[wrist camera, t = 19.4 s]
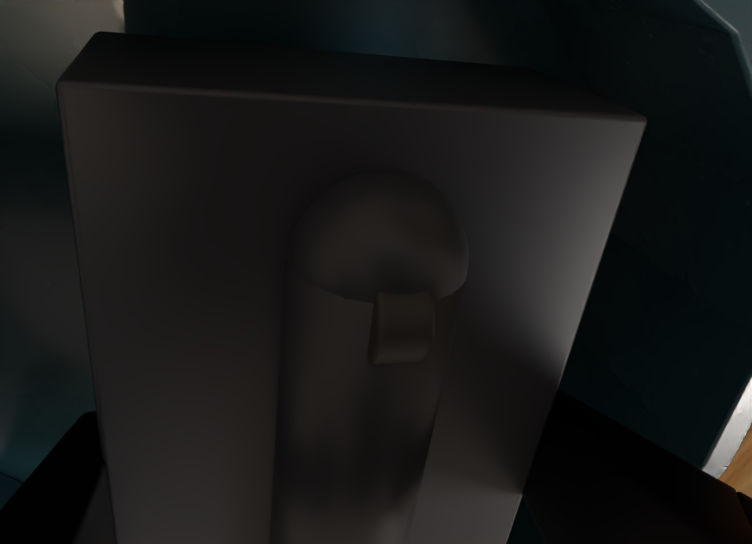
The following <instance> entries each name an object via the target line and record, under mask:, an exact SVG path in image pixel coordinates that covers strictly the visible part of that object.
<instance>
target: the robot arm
mask: <svg viewBox="0 0 752 544" xmlns="http://www.w3.org/2000/svg"><path fill="white" fill-rule="evenodd" d="M522 494H523V496H524V499H525V501H526V504H527V506H528V509H529V511H530V513H531V515H532V517H533V519H534V521H535V524H536V526H537V528H538V530H539V532H540V534H541V536H542V538H543V540H544V542H545V544H752V498H750V497H748V496H747V495H745V494H743V493H742V492H736V491H735V489H734V488H732V487H731V486H729V485H727V484H725V483H724V482H722V481H720V480H718V479H717V478H715V477H713V476H711V475H710V474H708V473H706V472H704V471H703V470H701V469H699V468H697V467H696V466H694V465H692V464H690V463H689V462H687V461H685V460H683V459H681V458H680V457H678V456H676V455H674V454H673V453H671V452H669V451H667V450H666V449H664V448H662V447H660V446H659V445H657V444H655V443H653V442H652V441H650V440H648V439H646V438H645V437H643V436H641V435H639V434H637V433H636V432H634V431H632V430H630V429H629V428H627V427H625V426H623V425H622V424H620V423H618V422H616V421H615V420H613V419H611V418H609V417H608V416H606V415H604V414H602V413H601V412H599V411H597V410H595V409H593V408H592V407H590V406H588V405H586V404H585V403H583V402H581V401H579V400H578V399H576V398H574V397H572V396H571V395H569V394H567V393H565V392H564V391H562V390H560V389H558V390H557V393H556V396H555V399H554V402H553V405H552V408H551V411H550V413H549V414H548V417H547V420H546V423H545V426H544V429H543V432H542V435H541V438H540V441H539V444H538V447H537V450H536V453H535V456H534V459H533V462H532V465H531V468H530V471H529V474H528V477H527V480H526V483H525V486H524V489H523V492H522ZM0 544H116V538H115V529H114V521H113V513H112V505H111V497H110V489H109V481H108V472H107V465H106V462H105V461H104V460H103V458H102V454H101V446H100V438H99V430H98V422H97V414H96V411H91V412H86V413H84V414H82V415H81V416H80V417H79V418H78V420H77V421H76V422H75V423H74V424H73V425H72V427H71V428H70V429H69V430H68V431H67V432H66V434H65V435H64V436H63V437H62V438H61V439H60V441H59V442H58V443H57V444H56V445H55V446H54V448H53V449H52V450H51V451H50V452H49V453H48V455H47V456H46V457H45V458H44V459H43V461H42V462H41V463H40V464H39V465H38V466H37V468H36V469H35V470H34V471H33V472H32V473H31V475H30V476H29V477H28V478H27V479H26V480H25V482H24V483H23V484H22V485H21V486H20V487H19V489H18V490H17V491H16V492H15V493H14V494H13V496H12V497H11V498H10V499H9V500H8V501H7V503H6V504H5V505H4V506H3V507H2V509H1V510H0Z"/></svg>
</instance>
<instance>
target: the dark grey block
mask: <svg viewBox="0 0 752 544" xmlns="http://www.w3.org/2000/svg"><path fill="white" fill-rule="evenodd" d="M55 88H56V96H57V104H58V112H59V120H60V128H61V136H62V144H63V152H64V159H65V167H66V175H67V183H68V191H69V199H70V207H71V215H72V223H73V231H74V239H75V247H76V255H77V263H78V271H79V279H80V287H81V295H82V303H83V310H84V318H85V326H86V334H87V342H88V350H89V358H90V366H91V374H92V382H93V390H94V398H95V406H96V414H97V422H98V430H99V438H100V446H101V454H102V458H103V460H104V461H105V462H106V465H107V472H108V481H109V489H110V497H111V505H112V513H113V521H114V529H115V538H116V544H506V543H507V540H508V537H509V534H510V531H511V528H512V525H513V522H514V519H515V516H516V513H517V510H518V507H519V504H520V501H521V498H522V495H523V494H522V492H523V489H524V486H525V483H526V480H527V477H528V474H529V471H530V468H531V465H532V462H533V459H534V456H535V453H536V450H537V447H538V444H539V441H540V438H541V435H542V432H543V429H544V426H545V423H546V420H547V417H548V414H549V413H550V411H551V408H552V405H553V402H554V399H555V396H556V393H557V390H558V387H559V384H560V381H561V378H562V375H563V372H564V369H565V366H566V363H567V360H568V357H569V354H570V351H571V348H572V345H573V342H574V339H575V336H576V333H577V330H578V327H579V324H580V321H581V318H582V315H583V312H584V310H585V307H586V304H587V301H588V298H589V295H590V292H591V289H592V286H593V283H594V280H595V277H596V274H597V271H598V268H599V265H600V262H601V259H602V256H603V253H604V250H605V247H606V244H607V241H608V238H609V235H610V232H611V229H612V226H613V223H614V220H615V217H616V214H617V211H618V208H619V205H620V202H621V199H622V196H623V193H624V190H625V187H626V184H627V181H628V178H629V175H630V172H631V169H632V166H633V163H634V160H635V157H636V154H637V151H638V148H639V145H640V142H641V139H642V136H643V133H644V130H645V127H646V124H647V118H646V117H645V116H644V115H642V114H640V113H638V112H635V111H633V110H631V109H628V108H626V107H623V106H621V105H618V104H616V103H614V102H611V101H609V100H606V99H604V98H601V97H599V96H596V95H594V94H592V93H589V92H587V91H584V90H582V89H579V88H577V87H575V86H572V85H570V84H567V83H565V82H562V81H560V80H557V79H555V78H553V77H550V76H548V75H545V74H543V73H540V72H538V71H536V70H533V69H531V68H528V67H517V66H505V65H493V64H481V63H469V62H458V61H446V60H434V59H422V58H411V57H399V56H387V55H375V54H363V53H352V52H340V51H328V50H316V49H304V48H293V47H281V46H269V45H257V44H246V43H234V42H222V41H210V40H198V39H187V38H175V37H163V36H151V35H139V34H128V33H116V32H104V31H99V32H96V33H94V35H93V36H92V37H91V38H90V40H89V41H88V42H87V44H86V45H85V46H84V47H83V49H82V50H81V51H80V53H79V54H78V55H77V56H76V58H75V59H74V60H73V61H72V63H71V64H70V65H69V67H68V68H67V69H66V70H65V72H64V73H63V74H62V75H61V77H60V78H59V79H58V81H57V84H56V87H55Z"/></svg>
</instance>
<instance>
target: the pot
mask: <svg viewBox="0 0 752 544" xmlns="http://www.w3.org/2000/svg"><path fill="white" fill-rule="evenodd" d="M99 31H104V32H116V33H128V34H139V35H151V36H163V37H175V38H187V39H198V40H210V41H222V42H234V43H246V44H257V45H269V46H281V47H293V48H304V49H316V50H328V51H340V52H352V53H363V54H375V55H387V56H399V57H411V58H422V59H434V60H446V61H458V62H469V63H481V64H493V65H505V66H517V67H528V68H531V69H533V70H536V71H538V72H540V73H543V74H545V75H548V76H550V77H553V78H555V79H557V80H560V81H562V82H565V83H567V84H570V85H572V86H575V87H577V88H579V89H582V90H584V91H587V92H589V93H592V94H594V95H596V96H599V97H601V98H604V99H606V100H609V101H611V102H614V103H616V104H618V105H621V106H623V107H626V108H628V109H631V110H633V111H635V112H638V113H640V114H642V115H644V116H645V117H646V118H647V124H646V127H645V130H644V133H643V136H642V139H641V142H640V145H639V148H638V151H637V154H636V157H635V160H634V163H633V166H632V169H631V172H630V175H629V178H628V181H627V184H626V187H625V190H624V193H623V196H622V199H621V202H620V205H619V208H618V211H617V214H616V217H615V220H614V223H613V226H612V229H611V232H610V235H609V238H608V241H607V244H606V247H605V250H604V253H603V256H602V259H601V262H600V265H599V268H598V271H597V274H596V277H595V280H594V283H593V286H592V289H591V292H590V295H589V298H588V301H587V304H586V307H585V310H584V312H583V315H582V318H581V321H580V324H579V327H578V330H577V333H576V336H575V339H574V342H573V345H572V348H571V351H570V354H569V357H568V360H567V363H566V366H565V369H564V372H563V375H562V378H561V381H560V384H559V387H558V389H560V390H562V391H564V392H565V393H567V394H569V395H571V396H572V397H574V398H576V399H578V400H579V401H581V402H583V403H585V404H586V405H588V406H590V407H592V408H593V409H595V410H597V411H599V412H601V413H602V414H604V415H606V416H608V417H609V418H611V419H613V420H615V421H616V422H618V423H620V424H622V425H623V426H625V427H627V428H629V429H630V430H632V431H634V432H636V433H637V434H639V435H641V436H643V437H645V438H646V439H648V440H650V441H652V442H653V443H655V444H657V445H659V446H660V447H662V448H664V449H666V450H667V451H669V452H671V453H673V454H674V455H676V456H678V457H680V458H681V459H683V460H685V461H687V462H689V463H690V464H692V465H694V466H696V467H697V468H699V469H701V470H703V471H704V472H706V473H708V474H710V475H711V476H713V477H715V478H717V479H718V478H719V477H720V476H721V474H722V473H723V472H724V471H725V470H726V469H727V467H728V465H729V464H730V463H731V461H732V459H733V458H734V456H735V454H736V452H737V450H738V448H739V447H740V445H741V443H742V441H743V439H744V437H745V436H746V434H747V432H748V430H749V428H750V426H751V424H752V0H0V510H1V509H2V507H3V506H4V505H5V504H6V503H7V501H8V500H9V499H10V498H11V497H12V496H13V494H14V493H15V492H16V491H17V490H18V489H19V487H20V486H21V485H22V484H23V483H24V482H25V480H26V479H27V478H28V477H29V476H30V475H31V473H32V472H33V471H34V470H35V469H36V468H37V466H38V465H39V464H40V463H41V462H42V461H43V459H44V458H45V457H46V456H47V455H48V453H49V452H50V451H51V450H52V449H53V448H54V446H55V445H56V444H57V443H58V442H59V441H60V439H61V438H62V437H63V436H64V435H65V434H66V432H67V431H68V430H69V429H70V428H71V427H72V425H73V424H74V423H75V422H76V421H77V420H78V418H79V417H80V416H81V415H82V414H84V413H86V412H91V411H96V406H95V398H94V390H93V382H92V374H91V366H90V358H89V350H88V342H87V334H86V326H85V318H84V310H83V303H82V295H81V287H80V279H79V271H78V263H77V255H76V247H75V239H74V231H73V223H72V215H71V207H70V199H69V191H68V183H67V175H66V167H65V159H64V152H63V144H62V136H61V128H60V120H59V112H58V104H57V96H56V88H55V87H56V84H57V81H58V79H59V78H60V77H61V75H62V74H63V73H64V72H65V70H66V69H67V68H68V67H69V65H70V64H71V63H72V61H73V60H74V59H75V58H76V56H77V55H78V54H79V53H80V51H81V50H82V49H83V47H84V46H85V45H86V44H87V42H88V41H89V40H90V38H91V37H92V36H93V35H94V33H96V32H99ZM506 544H545V542H544V540H543V538H542V536H541V534H540V532H539V530H538V528H537V526H536V524H535V521H534V519H533V517H532V515H531V513H530V511H529V509H528V506H527V504H526V501H525V499H524V496H523V495H522V498H521V501H520V504H519V507H518V510H517V513H516V516H515V519H514V522H513V525H512V528H511V531H510V534H509V537H508V540H507V543H506Z"/></svg>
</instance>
